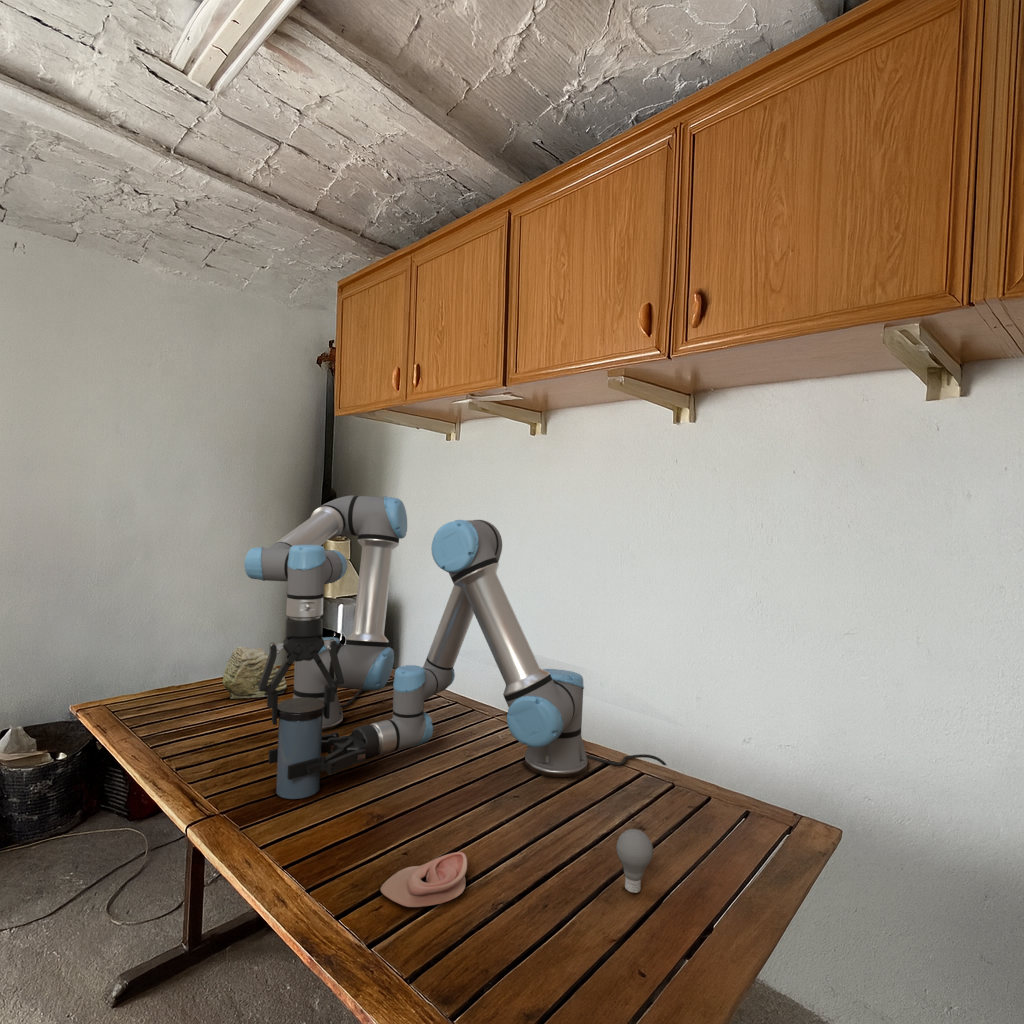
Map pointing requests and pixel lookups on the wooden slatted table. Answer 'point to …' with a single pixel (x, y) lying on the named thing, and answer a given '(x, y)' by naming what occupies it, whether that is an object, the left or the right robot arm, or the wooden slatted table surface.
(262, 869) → the wooden slatted table surface
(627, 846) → the light bulb
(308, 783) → the jar
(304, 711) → the lid
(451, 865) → the anatomical model
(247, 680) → the fossil
